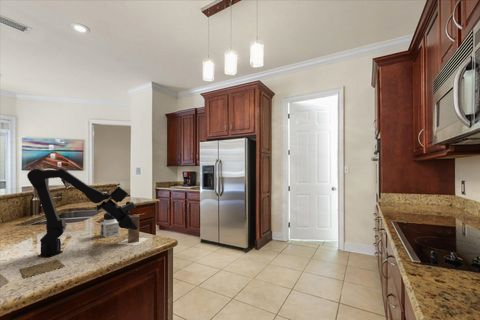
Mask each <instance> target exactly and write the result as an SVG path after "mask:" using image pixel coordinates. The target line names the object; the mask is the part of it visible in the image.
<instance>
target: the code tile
mask: <svg viewBox="0 0 480 320" xmlns="http://www.w3.org/2000/svg"><path fill="white" fill-rule="evenodd" d="M146 240H149V237H139V241H138V242H132V243H128V238H126V239H124V240H122V241H119V242H118V243H117V245H128V246H137V245H140V244H142V243H144V242H145V241H146Z"/></svg>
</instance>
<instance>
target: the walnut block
mask: <svg viewBox="0 0 480 320" xmlns="http://www.w3.org/2000/svg"><path fill="white" fill-rule="evenodd" d="M131 217H132V222H133V223H134V224H135V226H136V227H137V228H138V229H137V230H134V229H129V228H127V239H128V243H132V242H138V241H139V238H140V215H139V214H131Z"/></svg>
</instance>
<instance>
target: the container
mask: <svg viewBox="0 0 480 320" xmlns="http://www.w3.org/2000/svg"><path fill="white" fill-rule="evenodd" d="M99 223H100V225H99V226H100V228H99V229H100V230H99V232H100V233H99V235H100V236H101V237H104V238H110V237H114V236H118V235H120V233H121V227H119V225H118V222H117V220H116V219H115V218H113V217H111V216H110V215H109V214H108V213H107V212H105V213H104V214H103V221H100V222H99Z"/></svg>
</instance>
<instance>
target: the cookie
mask: <svg viewBox="0 0 480 320" xmlns="http://www.w3.org/2000/svg"><path fill="white" fill-rule="evenodd" d="M63 267H65V268H66V266H65V265H64V264H63V263H62V262H61V261H60V260H59V259H58V258H57V259H54V260H50V261H46V262H42V263H37V264H33V265H30V266H27V267H23V268H19V272H20V274H21V275H22V278H23V279H25V278H26V279H28V278H33V277H37V276H39V274H40V275H42V273H44V274H46V272H47V273H51V272H53V270H54V271H57V270H56V269H58V270H61V269H64V268H63ZM60 268H61V269H60ZM36 275H37V276H36ZM32 276H33V277H32ZM26 279H25V280H26Z"/></svg>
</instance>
